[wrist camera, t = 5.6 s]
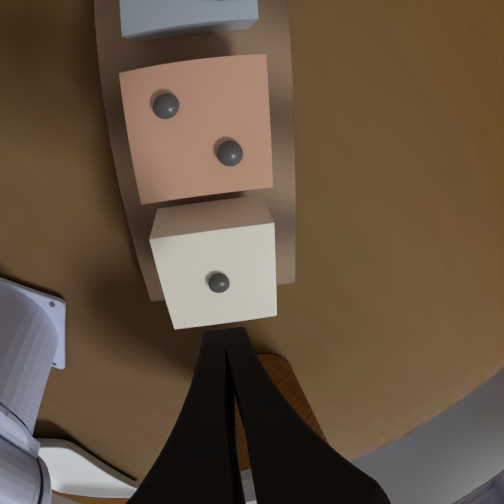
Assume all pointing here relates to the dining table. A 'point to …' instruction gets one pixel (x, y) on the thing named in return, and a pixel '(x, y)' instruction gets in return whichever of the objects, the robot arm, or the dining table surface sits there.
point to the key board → (190, 48)
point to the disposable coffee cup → (296, 398)
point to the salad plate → (82, 471)
